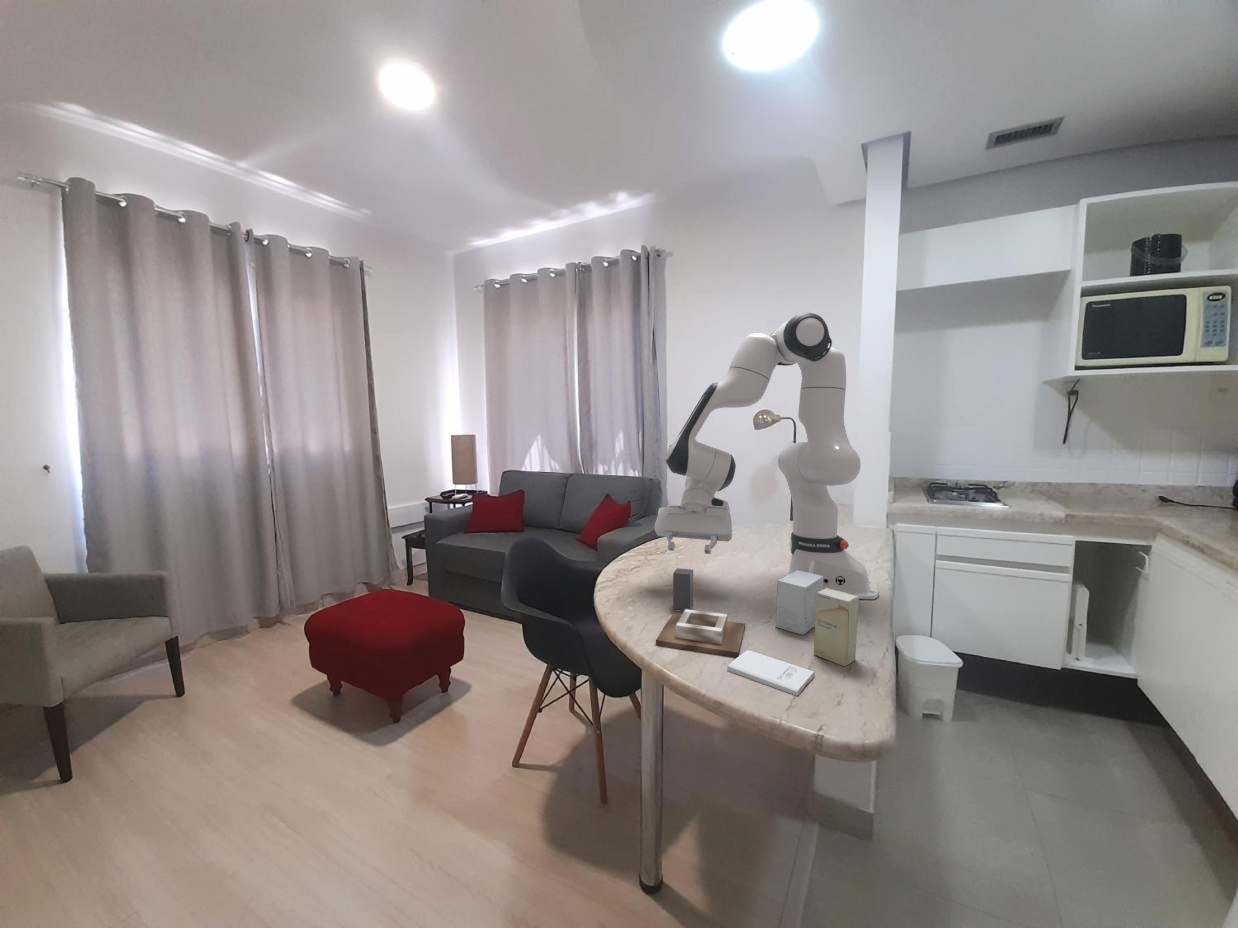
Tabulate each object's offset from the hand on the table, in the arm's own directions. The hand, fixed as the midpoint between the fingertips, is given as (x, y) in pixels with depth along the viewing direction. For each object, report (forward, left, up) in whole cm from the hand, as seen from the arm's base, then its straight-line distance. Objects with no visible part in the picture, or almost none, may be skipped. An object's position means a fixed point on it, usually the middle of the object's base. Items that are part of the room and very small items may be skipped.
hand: (688, 551), depth 120 cm
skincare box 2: (-32, +23, -12) cm, 41 cm away
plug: (0, +8, -12) cm, 14 cm away
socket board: (-7, +22, -12) cm, 26 cm away
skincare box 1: (-26, +9, -12) cm, 30 cm away
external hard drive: (-21, +33, -13) cm, 41 cm away
